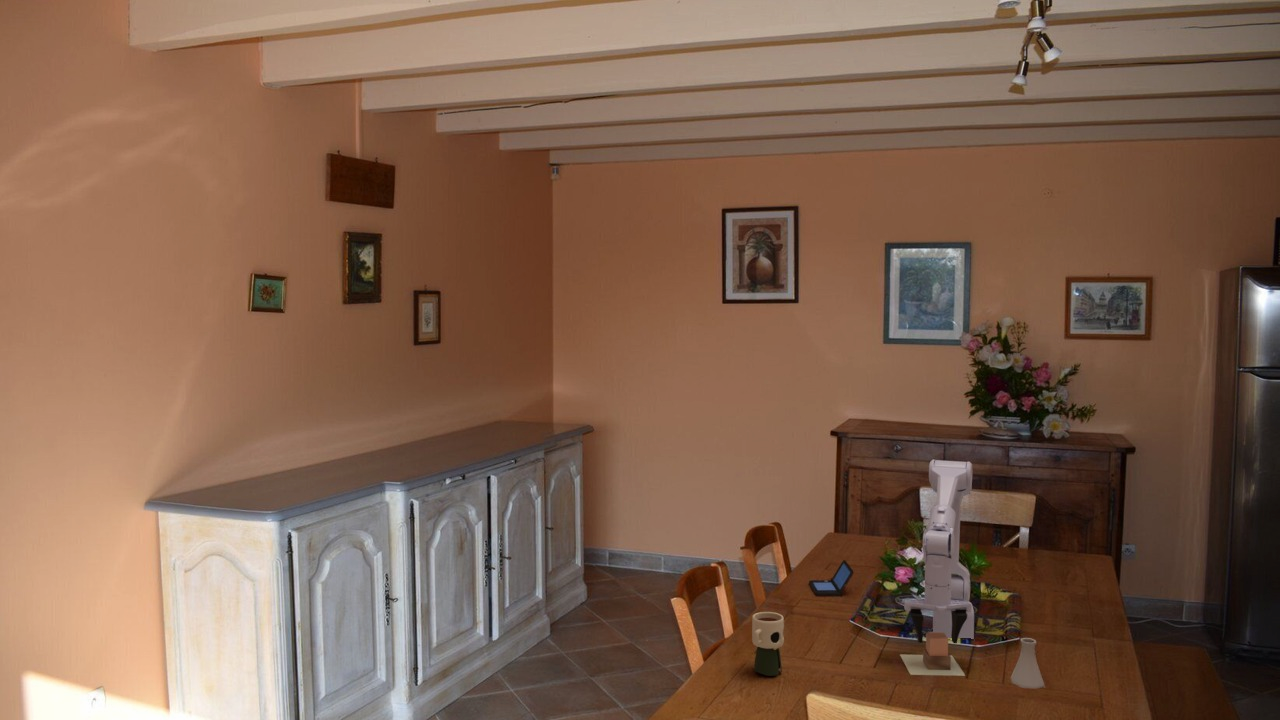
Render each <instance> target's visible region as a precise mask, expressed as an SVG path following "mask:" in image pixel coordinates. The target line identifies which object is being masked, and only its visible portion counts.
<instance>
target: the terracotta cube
mask: <svg viewBox="0 0 1280 720" xmlns="http://www.w3.org/2000/svg"><path fill="white" fill-rule="evenodd" d="M925 649H926V650H927V652H928V654H929V655H930V656H948V654H949V640H948V638H947V636H946V635H945V633H936V632H929V631H926V632H925Z"/></svg>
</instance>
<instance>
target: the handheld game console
mask: <svg viewBox="0 0 1280 720" xmlns="http://www.w3.org/2000/svg"><path fill="white" fill-rule="evenodd" d="M853 576H854V570H853V569H852V567H851V566H850V565H849V563H848V562H847V561H846V559H844V560H842V562H840V565H839V566H838V568H837V569H836V571H835V573H834V575H833V576H832V577H831V578H830V579H823V580H822V579H821V580H819V579H816V580H815V579H814V580H813V579H812V580H809V581H808V585H809V586H810V588H811V591H813V593H814V595H815V596H816V597H818V598H819V597H822V598H823V597H824V598H825V597H826V598H827V597H842V596H843V591H844V590H845V588H846V587H847V585H848V583H849V582H850V580H851V579H852V577H853Z"/></svg>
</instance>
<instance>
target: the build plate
mask: <svg viewBox="0 0 1280 720" xmlns="http://www.w3.org/2000/svg"><path fill="white" fill-rule="evenodd" d="M949 655H950V654H949ZM899 656H900V658H901V659H902V662H903V663H904V665H905V667H906V669H907V671H908V673H909V674H910V676H913V675H914V676H956V677H957V676H959V677H961V676H962V677H965V676H966V675H965V672H964V671H963V670H962V668H961V667H960V665H959V663H958V662H957V660H955V658H954V656H953V655H950V657H951V670H928V669H927V667H926V665H925V664H924V662H923V654H899Z"/></svg>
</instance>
